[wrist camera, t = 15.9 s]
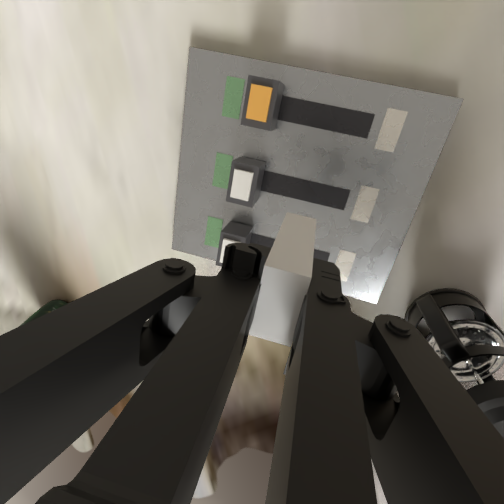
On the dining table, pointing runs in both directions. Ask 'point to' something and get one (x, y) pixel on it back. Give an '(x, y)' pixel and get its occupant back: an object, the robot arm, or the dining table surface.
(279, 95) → the orange and grey switch
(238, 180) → the breaker middle
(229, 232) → the breaker back
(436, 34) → the dining table surface
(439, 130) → the panel
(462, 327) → the french press
